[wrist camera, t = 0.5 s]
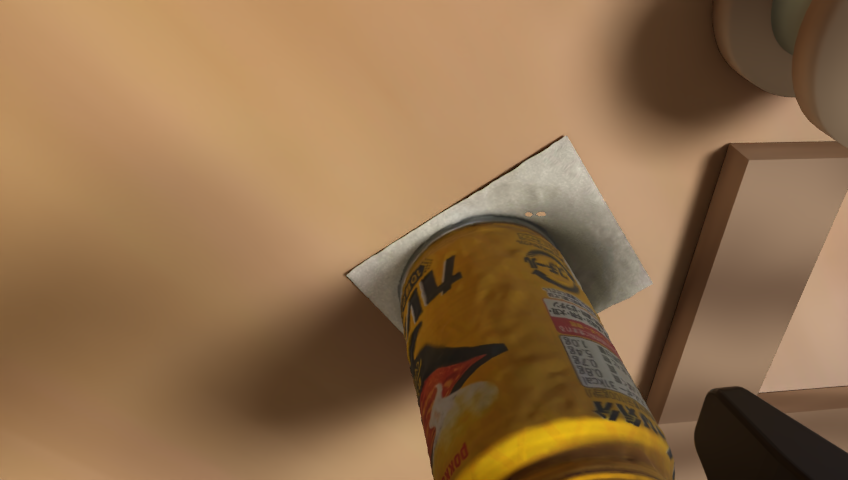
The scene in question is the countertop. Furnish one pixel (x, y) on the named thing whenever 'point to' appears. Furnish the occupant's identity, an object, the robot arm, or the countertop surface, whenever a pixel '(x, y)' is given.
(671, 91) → the countertop surface
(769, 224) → the brown frame
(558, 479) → the condiment
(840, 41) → the spool
